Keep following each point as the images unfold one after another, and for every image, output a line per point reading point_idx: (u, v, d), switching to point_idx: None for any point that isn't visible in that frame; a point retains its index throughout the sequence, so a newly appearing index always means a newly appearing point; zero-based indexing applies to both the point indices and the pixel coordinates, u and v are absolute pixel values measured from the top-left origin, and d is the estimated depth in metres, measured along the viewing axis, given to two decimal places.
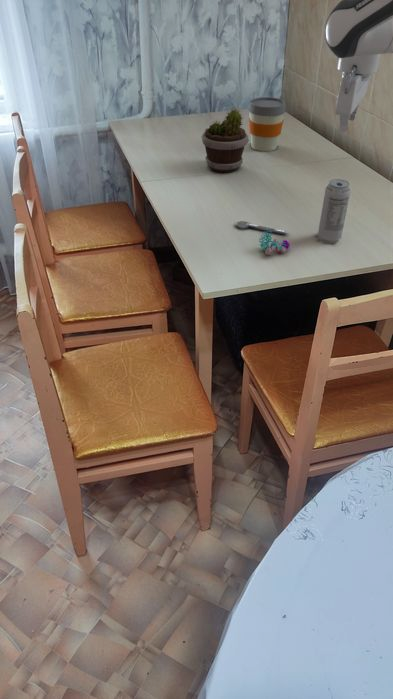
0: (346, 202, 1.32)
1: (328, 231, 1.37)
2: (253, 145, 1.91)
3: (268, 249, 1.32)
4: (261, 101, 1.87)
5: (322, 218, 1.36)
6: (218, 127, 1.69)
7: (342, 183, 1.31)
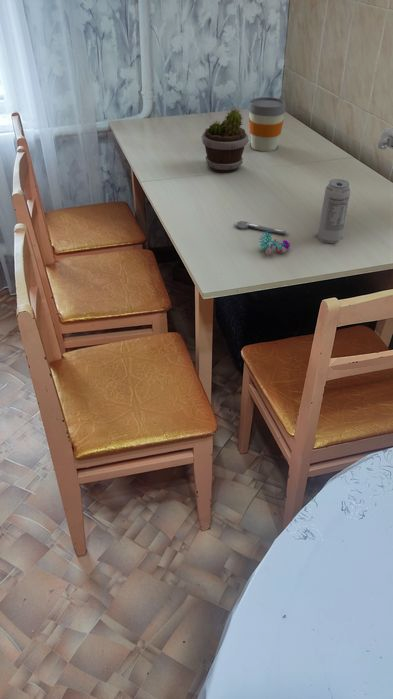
0: (346, 202, 1.32)
1: (328, 231, 1.37)
2: (253, 145, 1.91)
3: (268, 249, 1.32)
4: (261, 101, 1.87)
5: (322, 218, 1.36)
6: (218, 127, 1.69)
7: (342, 183, 1.31)
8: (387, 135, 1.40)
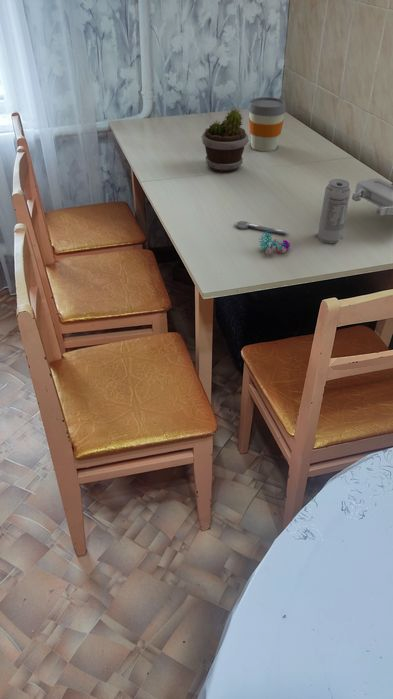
0: (346, 202, 1.32)
1: (328, 231, 1.37)
2: (253, 145, 1.91)
3: (268, 249, 1.32)
4: (261, 101, 1.87)
5: (322, 218, 1.36)
6: (218, 127, 1.69)
7: (342, 183, 1.31)
8: (361, 187, 1.46)
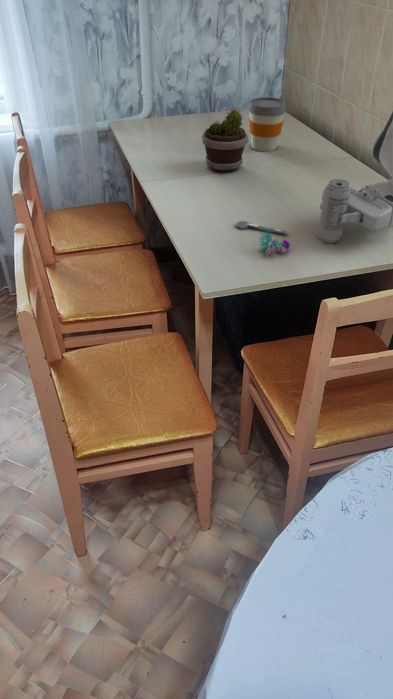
0: (346, 202, 1.32)
1: (328, 231, 1.37)
2: (253, 145, 1.91)
3: (268, 249, 1.32)
4: (261, 101, 1.87)
5: (322, 218, 1.36)
6: (218, 127, 1.69)
7: (341, 183, 1.31)
8: None
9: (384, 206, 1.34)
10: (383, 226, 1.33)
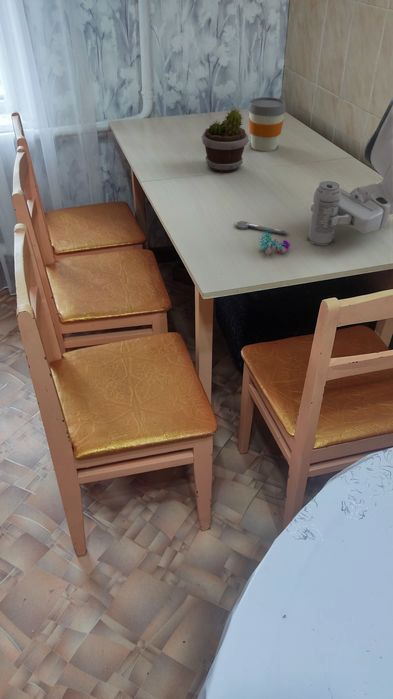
0: (336, 204, 1.31)
1: (319, 233, 1.36)
2: (253, 145, 1.91)
3: (268, 249, 1.32)
4: (261, 101, 1.87)
5: (313, 220, 1.35)
6: (218, 127, 1.69)
7: (332, 185, 1.30)
8: None
9: (375, 209, 1.33)
10: (374, 228, 1.32)
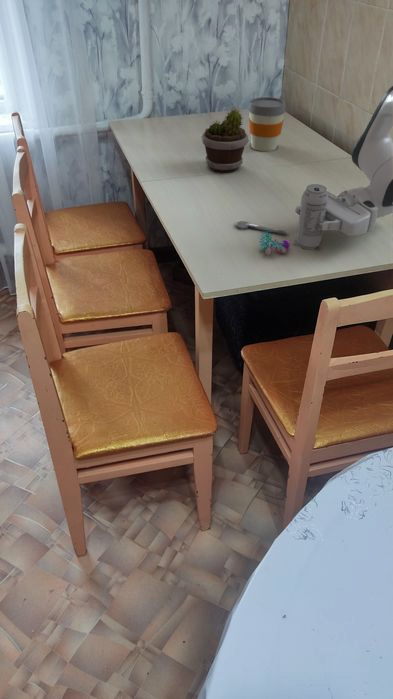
0: (324, 208, 1.30)
1: (306, 237, 1.34)
2: (253, 145, 1.91)
3: (268, 249, 1.32)
4: (261, 101, 1.87)
5: (300, 224, 1.34)
6: (218, 127, 1.69)
7: (319, 188, 1.29)
8: None
9: (362, 212, 1.31)
10: (361, 232, 1.31)
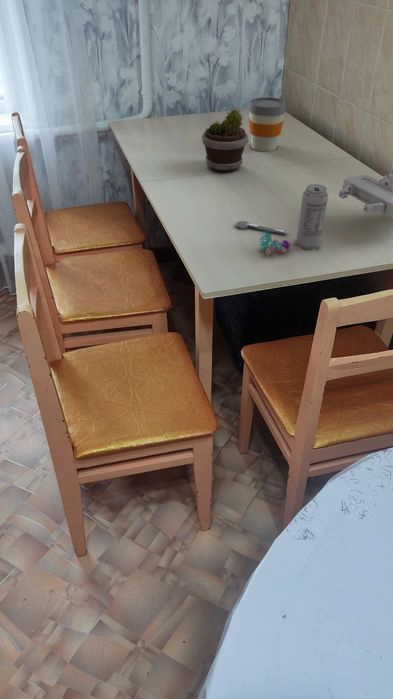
0: (324, 208, 1.30)
1: (306, 237, 1.34)
2: (253, 145, 1.91)
3: (268, 249, 1.32)
4: (261, 101, 1.87)
5: (300, 224, 1.34)
6: (218, 127, 1.69)
7: (319, 188, 1.29)
8: (349, 183, 1.43)
9: None
10: None
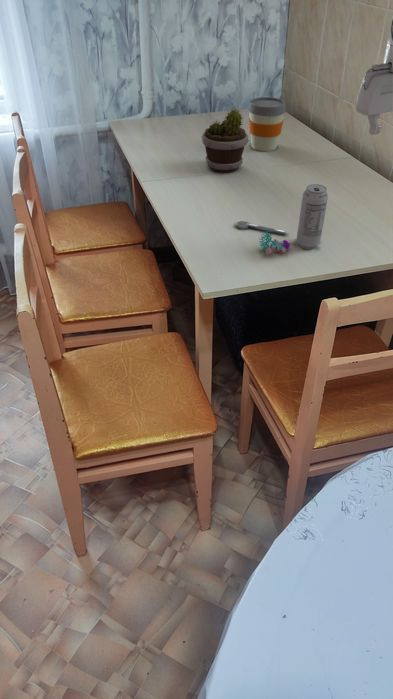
0: (324, 208, 1.30)
1: (306, 237, 1.34)
2: (253, 145, 1.91)
3: (268, 249, 1.32)
4: (261, 101, 1.87)
5: (300, 224, 1.34)
6: (218, 127, 1.69)
7: (319, 188, 1.29)
8: None
9: None
10: None
